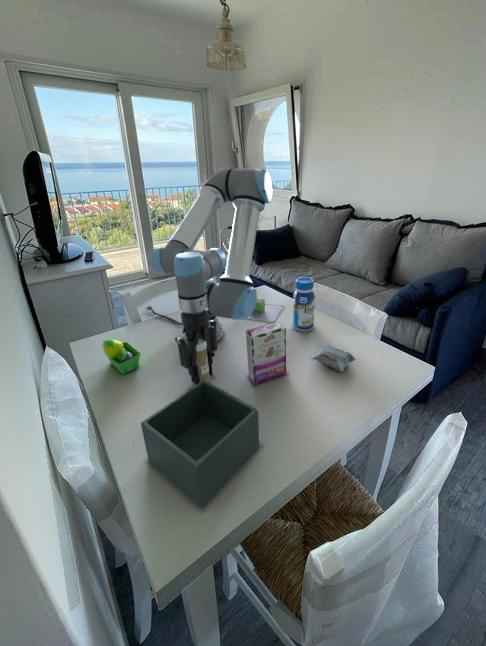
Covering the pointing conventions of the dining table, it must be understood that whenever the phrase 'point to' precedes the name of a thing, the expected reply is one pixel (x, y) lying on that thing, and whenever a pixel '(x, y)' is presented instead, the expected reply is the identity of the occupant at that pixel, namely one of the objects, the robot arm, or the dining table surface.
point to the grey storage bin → (201, 439)
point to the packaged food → (334, 357)
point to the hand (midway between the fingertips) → (202, 378)
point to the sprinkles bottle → (202, 360)
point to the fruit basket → (121, 355)
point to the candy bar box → (266, 352)
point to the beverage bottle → (303, 305)
